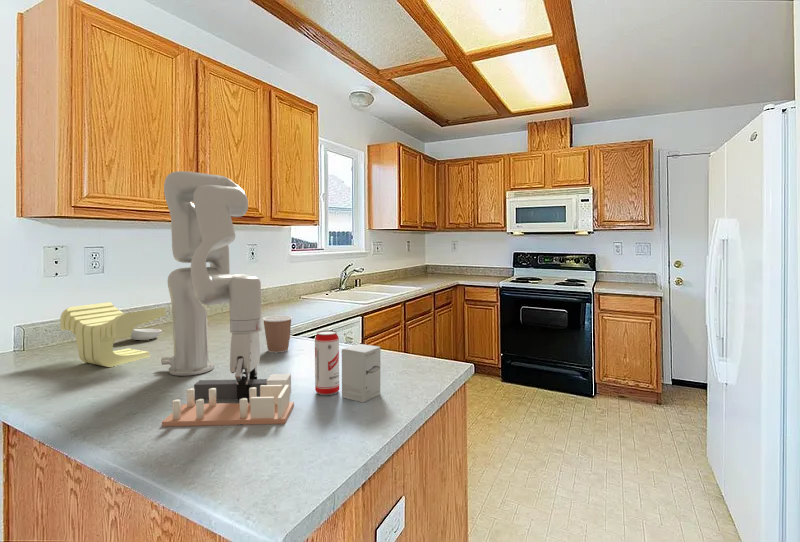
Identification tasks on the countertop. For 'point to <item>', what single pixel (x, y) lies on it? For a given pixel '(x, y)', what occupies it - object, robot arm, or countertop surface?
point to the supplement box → (360, 372)
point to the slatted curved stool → (105, 331)
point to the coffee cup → (277, 332)
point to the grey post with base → (229, 387)
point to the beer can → (327, 362)
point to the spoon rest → (145, 334)
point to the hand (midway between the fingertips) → (247, 394)
